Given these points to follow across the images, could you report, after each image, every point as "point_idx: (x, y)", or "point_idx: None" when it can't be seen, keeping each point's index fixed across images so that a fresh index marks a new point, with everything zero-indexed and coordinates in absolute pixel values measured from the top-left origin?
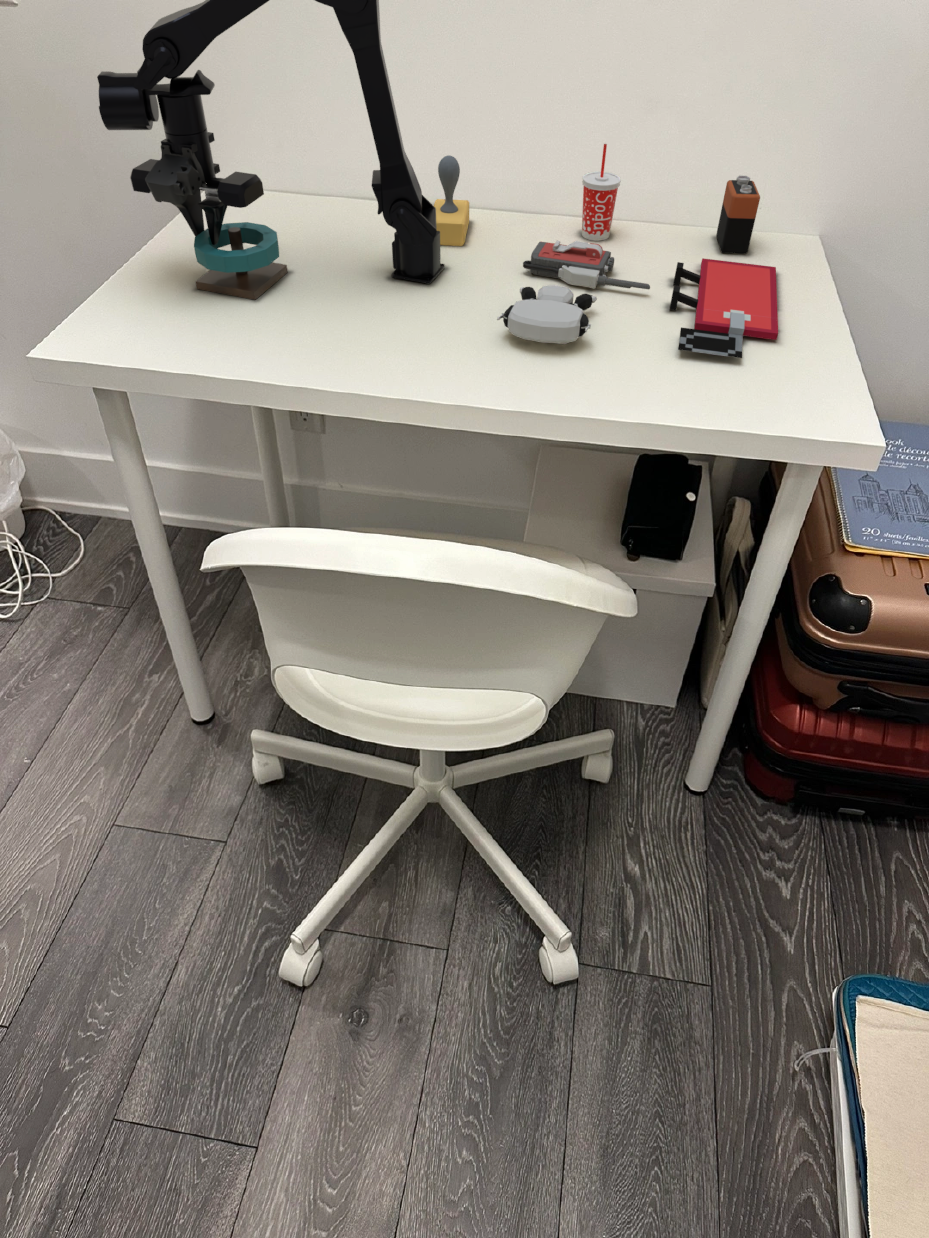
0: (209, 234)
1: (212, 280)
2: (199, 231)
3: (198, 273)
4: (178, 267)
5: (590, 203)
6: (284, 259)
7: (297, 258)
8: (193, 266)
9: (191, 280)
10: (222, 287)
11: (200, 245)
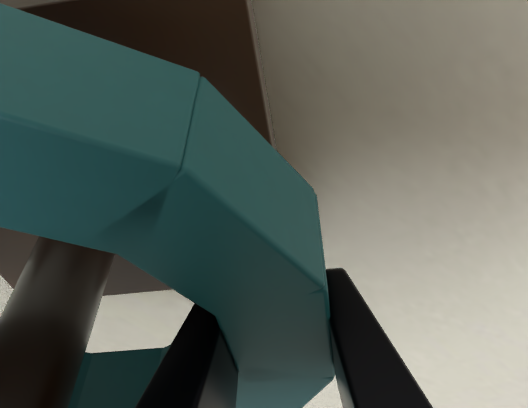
0: (208, 345)
1: (149, 45)
2: (334, 349)
3: (372, 123)
4: (518, 126)
5: None
6: (143, 325)
7: (114, 340)
8: (441, 166)
9: (360, 40)
10: (22, 5)
11: (127, 203)
